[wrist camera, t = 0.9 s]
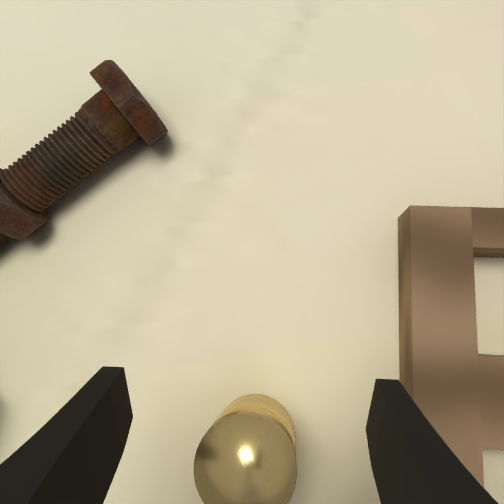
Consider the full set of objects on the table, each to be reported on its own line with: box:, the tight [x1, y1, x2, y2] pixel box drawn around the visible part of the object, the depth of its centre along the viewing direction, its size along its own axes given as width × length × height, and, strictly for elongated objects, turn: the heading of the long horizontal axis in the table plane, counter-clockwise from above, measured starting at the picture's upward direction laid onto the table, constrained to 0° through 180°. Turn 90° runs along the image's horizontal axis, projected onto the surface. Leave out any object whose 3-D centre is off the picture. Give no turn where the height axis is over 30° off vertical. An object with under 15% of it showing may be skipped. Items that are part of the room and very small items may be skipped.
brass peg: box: [194, 394, 297, 504], centre depth 20 cm, size 4×4×6 cm
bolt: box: [0, 60, 168, 245], centre depth 25 cm, size 6×5×15 cm
